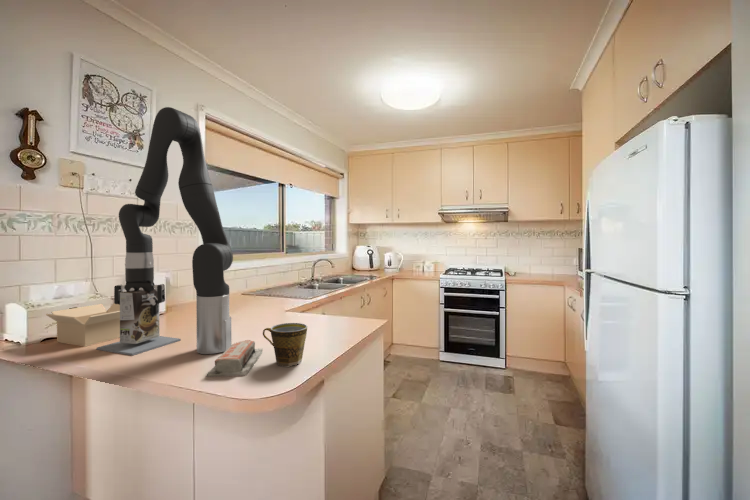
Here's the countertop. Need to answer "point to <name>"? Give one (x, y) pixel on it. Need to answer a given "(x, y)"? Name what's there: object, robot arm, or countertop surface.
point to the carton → (87, 324)
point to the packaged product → (236, 360)
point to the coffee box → (137, 317)
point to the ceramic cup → (288, 342)
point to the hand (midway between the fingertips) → (140, 316)
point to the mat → (138, 345)
